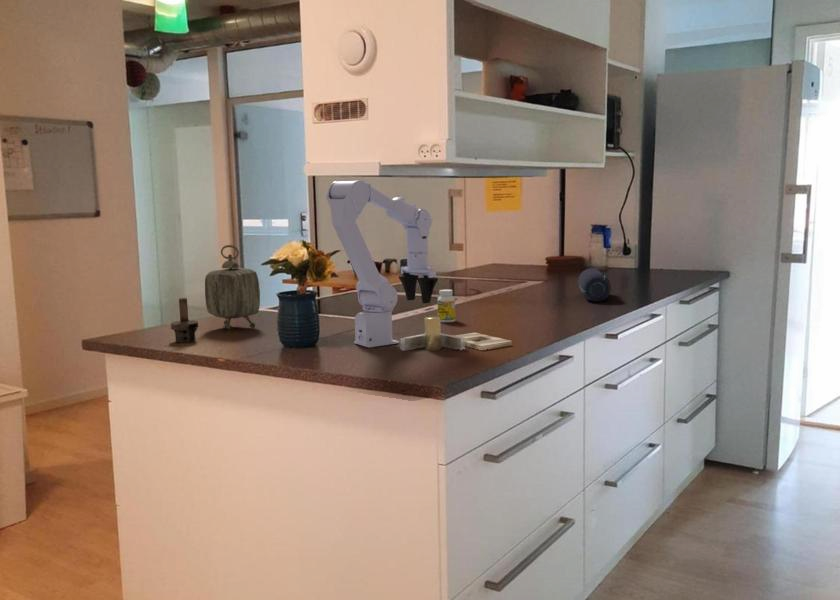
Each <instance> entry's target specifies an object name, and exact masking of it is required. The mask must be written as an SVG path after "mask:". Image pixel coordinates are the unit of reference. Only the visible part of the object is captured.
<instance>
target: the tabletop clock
mask: <svg viewBox="0 0 840 600" xmlns="http://www.w3.org/2000/svg"><path fill="white" fill-rule="evenodd" d="M227 248H232V249H234V250H235V251H236V255H235V256H232V254H228V255H225V254H223V253H224V252H223V251H224V250H225V249H227ZM239 252H240V251H239V249H238V248H237V247H236V246H235V245H232V244H226V245H224V246H223V247H222V248H221V249H220V254H221V256H222V257H223V258H224V259H226V260H225V261H224V262H223V264H222V266H221V269H217V270H211V271H209V272H208V273H207V274H206V275H205V279H204V295H205V296H204V297H205V298H204V299H205V307H206V310H207V311H206V312H207V313H209V314H210V315H212V316H214V317H217V318H222V319H224V320H223V324H224V326H225V329H226V330H227V331H228V330H230V329H232V325H231V320H232V319H239V318H243V319H245V320H246V321H247V322H248V323H249V326H250V328H251V329H253V328H255V327H256V323H255V322H252V321H251V319H250V317H249V316H254V315H257V314H259V310H260V307H261V306H260V305H261V292H260V282H259V281H260V280H259V277H258V273H257V272H256V271H255V270H253V269H251V268H244V267H240V265H239V263H238V262H237V261H236V260H235V259H237V258H238V257H239V254H240V253H239Z"/></svg>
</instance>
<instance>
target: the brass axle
mask: <svg viewBox="0 0 840 600" xmlns="http://www.w3.org/2000/svg"><path fill="white" fill-rule="evenodd" d="M441 323H442V322H440V317H438V316H426V317H424V334H425V347H424V348H425V351H439V350H442V346H441V333H442V332H441V331H442V330H441V326H442V325H441Z"/></svg>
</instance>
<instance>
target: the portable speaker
mask: <svg viewBox="0 0 840 600" xmlns="http://www.w3.org/2000/svg"><path fill="white" fill-rule="evenodd" d="M577 284H578V288H579V290H580V291H581V293H582V295H583V296H584V297H585V298H586V299H587V300H588V301H591V302H602V301H603V300H605V299H607V298H608V297H609V296H610V293H611V292H612V286H611V281H610V280H609V278H608V277H607V276H606V275H605V274H604V273H603V271H601V270H599V269H598V268H595V267H594V268H593V267H592V268H587V269H585V270H583V271H582V272H581V273H580V274H579V276H578V279H577Z"/></svg>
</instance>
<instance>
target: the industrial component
mask: <svg viewBox="0 0 840 600" xmlns="http://www.w3.org/2000/svg"><path fill="white" fill-rule="evenodd" d="M178 306H179V320H178V321H172V322H171V323H170V329H171V330H173V331H174V334H175V342H178V343H190V342H196V332H197V330H198V328H199V321H198V320H189V309H188V308H189V306H188V298H187V297H180V298H178Z"/></svg>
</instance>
